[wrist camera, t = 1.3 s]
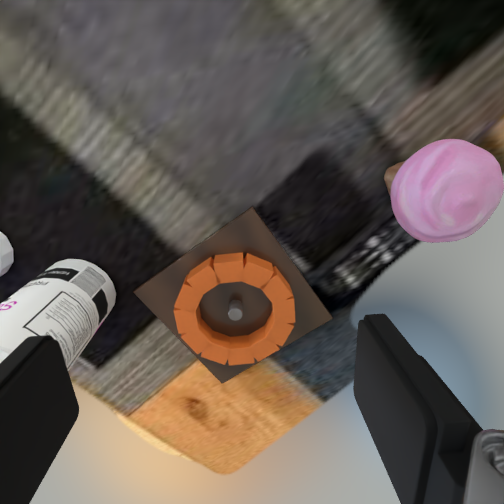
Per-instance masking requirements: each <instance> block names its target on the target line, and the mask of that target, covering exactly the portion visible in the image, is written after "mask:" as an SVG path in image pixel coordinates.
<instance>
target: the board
mask: <svg viewBox="0 0 504 504" xmlns="http://www.w3.org/2000/svg"><path fill="white" fill-rule="evenodd" d="M242 252H243V258H245V256H246V254H247V253H248V254H251V255H253V256H255V257H258V258H260V259H263V260H265V261H268V262H270V263H272V266H273V267H274V266H276V268H277V269H278V270H279V272H280V273H281V274H282V276H283V277H284V278H285V280H286V281H287V282H288V284H289V285H290V288H291V290H292V293H293V297H294V304H295V323H294V328H293V329H292V331H291V333H290V334H289V336H288V338H287V339H286V341H285V343H284V345H283V346H280V345H279V348H280V349H282V348H283V347H285V346H287V345H289V344H290V343H292V342H294V341H295V340H297V339H299V338H300V337H302V336H304V335H306V334H307V333H309V332H311V331H312V330H314V329H316V328H317V327H319V326H321V325H322V324H324V323H326V322H328V321H329V320H331V319H333V317H332V315H331V314H330V312H329V311H328V310H327V308H326V307H325V305H324V304H323V303H322V301H321V300H320V299H319V297H318V296H317V294H316V293H315V292H314V290H313V289H312V288H311V286H310V285H309V283H308V282H307V281H306V279H305V278H304V276H303V275H302V274H301V272H300V271H299V270H298V268H297V267H296V265H295V264H294V263H293V261H292V260H291V259H290V257H289V256H288V254H287V253H286V252H285V250H284V249H283V248H282V246H281V245H280V243H279V242H278V241H277V239H276V238H275V236H274V235H273V234H272V232H271V231H270V230H269V228H268V227H267V225H266V224H265V223H264V221H263V220H262V219H261V217H260V216H259V214H258V213H257V212H256V210H255V209H254V208H253V206H252V207H251V208H249V209H248V210H246V211H245V212H243V213H242V214H241V215H239V216H238V217H236V218H235V219H234V220H232V221H231V222H229V223H228V224H226V225H225V226H224V227H222V228H221V229H219V230H218V231H216V232H215V233H214V234H212V235H211V236H209V237H208V238H207V239H205V240H204V241H202V242H201V243H199V244H198V245H197V246H195V247H194V248H192V249H191V250H190V251H188V252H187V253H185V254H184V255H182V256H181V257H180V258H178V259H177V260H175V261H174V262H173V263H171V264H170V265H168V266H167V267H165V268H164V269H163V270H161V271H160V272H158V273H157V274H155V275H154V276H153V277H151V278H150V279H148V280H147V281H146V282H144V283H143V284H141V285H140V286H138V287H137V288H136V289H135V290H134V291H133V292H134V293H135V295H136V296H137V297H138V298H139V299H140V300H141V301H142V302H143V303H144V304H145V305H146V306H147V307H148V308H149V309H150V310H151V311H152V312H153V313H154V314H155V315H156V316H157V317H158V318H159V319H160V320H161V321H162V322H163V323H164V324H165V325H166V326H167V327H168V328H169V329H170V330H171V331H172V333H173V334H174V335H175V336H176V337H177V338H178V339H179V340H180V341H181V342H182V343H183V344H184V345H185V346H186V347H187V348H188V349H189V350H190V351H191V352H192V353H193V354H194V355H195V356H196V357H197V358H198V359H199V360H200V361H201V362H202V363H203V364H204V365H205V366H206V367H207V368H208V370H209V371H210V372H211V373H212V374H213V375H214V376H215V377H216V378H217V379H218V380H219V381H220V382H221V383H224V382H226V381H228V380H229V379H231V378H233V377H234V376H236V375H238V374H239V373H241V372H243V371H244V370H246V369H248V368H250V367H251V366H253V365H255V364H256V363H258V361H257V360H256V359H255V358H254V363H250V364H240V365H229V364H228V360H227V362H226V364H225V365H223V364H221V363H218V362H215V361H212V360H209V359H206V358H203V357H201V353H202V352H201V353H199V354H196V353H195V352H194V351H193V350H192V349H191V347H190V346H189V345H188V344H187V343H186V342H185V341H184V340H183V339H182V338H181V334H178V329H177V324H176V320H175V315H174V308H175V307H174V305H175V302H176V300H177V297H178V295H179V292H180V290H181V287H182V285H183V283H184V280H185V278H186V276H187V275H189V272H190V271H191V270H192V269H194V268H195V267H197V266H198V265H200V264H201V263H203V262H204V261H205V260H207V259H208V258H210V257H212V258H213V259H215V255H222V254H232V253H242ZM199 308H200V314H201V318H202V319H203V320H204V321H205V323H206V324H207V325H208V326H209V327H210V328H211V329H212V330H213V331H215V332H218V333H221V334H224V335H227V336H229V337H233V336H244V335H250V334H251V333H253V332H255V331H256V330H258V329H260V328H261V327H263V326H264V325H265V324H266V322H267V320H268V318H269V316H270V314H271V313H272V302H271V301H270V300H269V298H268V297H267V296H266V295H265V293H264V292H263V291H262V290H261V289H260V288H257V287H255V286H252V285H249V284H247V283H244V282H242V281H240V282H230V283H220V284H218V285H217V286H215V287H214V288H212V289H211V290H209V291H208V292H206V293H205V294H203V296H202V299H201V301H200V303H199ZM280 349H279V350H280ZM276 352H277V351H276ZM274 353H275V352H274ZM272 354H273V353H272ZM272 354H271V355H272ZM269 356H270V355H269ZM267 357H268V356H267ZM267 357H266V358H267ZM264 359H265V358H264ZM262 360H263V359H262ZM259 362H260V361H259Z"/></svg>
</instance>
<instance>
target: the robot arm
mask: <svg viewBox="0 0 504 504" xmlns="http://www.w3.org/2000/svg"><path fill="white" fill-rule="evenodd" d="M354 396H355V399H356V401H357V404H358V406H359V409H360V411H361V413H362V415H363V418H364V420H365V422H366V424H367V427H368V429H369V431H370V433H371V436H372V438H373V441H374V443H375V445H376V447H377V450H378V452H379V454H380V456H381V459H382V461H383V463H384V466H385V468H386V470H387V472H388V475H389V477H390V480H391V482H392V484H393V486H394V489H395V491H396V493H397V496H398V498H399V500H400V503H401V504H504V430H495V429H490V430H483V429H482V428H481V427H480V426H479V424H478V423H477V422H476V421H475V420H474V418H473V417H472V416H471V415H470V413H469V412H468V411H467V410H466V409H465V407H464V406H463V405H462V404H461V402H460V401H459V400H458V399H457V398H456V396H455V395H454V394H453V393H452V391H451V390H450V389H449V388H448V387H447V385H446V384H445V383H444V382H443V380H442V379H441V378H440V377H439V376H438V374H437V373H436V372H435V371H434V369H433V368H432V367H431V366H430V365H429V364H428V362H427V361H426V360H425V359H424V358H423V357H422V356H420V355H418V354H417V353H416V352H415V351H414V349H413V348H412V347H411V345H410V344H409V343H408V342H407V340H406V339H405V338H404V337H403V335H402V334H401V333H400V332H399V331H398V329H397V328H396V327H395V326H394V324H393V323H392V322H391V321H390V319H389V318H388V317H387V316H386V315H385V314H372V315H365V317H364V320H360V321H359V323H358V335H357V348H356V361H355V374H354ZM78 414H79V405H78V402H77V399H76V396H75V392H74V390H73V386H72V383H71V379H70V376H69V373H68V370H67V367H66V363H65V360H64V357H63V354H62V350H61V347H60V344H59V342H58V341H57V340H54V339H53V337H52V336H50V335H44V336H30V337H28V338H26V339H25V340H24V341H23V342H22V343H21V344H20V345H19V346H18V347H17V348H16V349H15V350H14V351H13V352H12V353H10V354H9V355H8V356H7V357H6V358H5V359H4V360H3V361H2V362H1V363H0V504H29V503H30V501H31V499H32V498H33V496H34V494H35V492H36V491H37V489H38V487H39V485H40V483H41V482H42V480H43V478H44V476H45V475H46V473H47V471H48V469H49V467H50V466H51V464H52V462H53V460H54V459H55V457H56V455H57V453H58V451H59V450H60V448H61V446H62V444H63V443H64V441H65V439H66V437H67V435H68V434H69V432H70V430H71V428H72V427H73V425H74V423H75V421H76V420H77V417H78Z"/></svg>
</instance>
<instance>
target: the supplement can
mask: <svg viewBox="0 0 504 504" xmlns="http://www.w3.org/2000/svg"><path fill="white" fill-rule="evenodd" d="M115 298H116V292H115V288H114V285H113V282H112V281H111V279H110V278H109V277H108V275H107V274H106V272H104V271H103V270H102V269H100V268H99V267H98V266H96V265H95V264H92V263H90V262H87V261H84V260H80V259H66V260H63V261H59V262H56V263H55V264H53V265H52V266H51V267H49V268H48V269H47V270H45V271H44V272H43V273H41V274H40V275H39V276H37V277H36V278H35V279H33V280H32V281H31V282H29V283H28V284H26V285H25V286H24V287H22V288H21V289H20V290H18V291H17V292H16V293H14V294H13V295H12V296H10V297H9V298H8V299H6V300H5V301H4V302H2V303H1V304H0V363H1V362H2V361H3V360H4V359H5V358H6V357H7V356H8V355H9V354H10V353H12V352H13V351H14V350H15V349H16V348H17V347H18V346H19V345H20V344H21V343H22V342H23V341H24V340H25V339H26V338H28V337H30V336H44V335H50V336H52V337H53V339H54V340H57V341H58V342H59V344H60V347H61V350H62V354H63V357H64V360H65V363H66V367H67V370H68V371H69V370H70V368H71V367H72V365H73V364H74V362H75V361H76V360H77V358H78V357H79V355H80V354H81V353H82V351H83V350H84V348H85V347H86V345H87V344H88V343H89V341H90V340H91V338H92V337H93V336H94V334H95V333H96V331H97V330H98V328H99V327H100V326H101V324H102V323H103V321H104V320H105V318H106V317H107V316H108V314H109V313H110V311H111V310H112V308H113V306H114V305H115Z"/></svg>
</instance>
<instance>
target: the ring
mask: <svg viewBox="0 0 504 504" xmlns="http://www.w3.org/2000/svg"><path fill="white" fill-rule="evenodd" d="M240 281H242V282H244V283H247V284H249V285H252V286H255V287H257V288H260V289H261V290H262V291H263V292H264V293H265V295H266V296H267V297H268V298H269V300H270V301H271V302H272V313H271V314H270V316H269V318H268V320H267V322H266V324H265V325H264V326H263V327H261V328H260V329H258V330H256V331H255V332H253V333H251V334H250V335H244V336H233V337H229V336H227V335H224V334H221V333H218V332H215V331H213V330H212V329H211V328H210V327H209V326H208V325H207V324H206V323H205V321H204V320H203V319H202V318H201V314H200V308H199V303H200V301H201V299H202V296H203V294H205V293H206V292H208V291H209V290H211V289H212V288H214V287H215V286H217V285H218V284H220V283H230V282H240ZM174 307H175V308H174V315H175V320H176V324H177V329H178V334H181V338H182V339H183V340H184V341H185V342H186V343H187V344H188V345H189V346H190V347H191V349H192V350H193V351H194V352H195V353H196V354H199V353H201V352H202V353H201V357H203V358H206V359H209V360H212V361H215V362H218V363H221V364H223V365H225V364H226V362H227V360H228V364H229V365H240V364H250V363H254V358H255V359H256V360H257V361H258V362H259V361H261V360H262V359H264V358H266V357H267V356H269V355H271V354H272V353H274V352H276V351H278V350H279V349H280V348H279V345H280V346H283V345H284V343H285V341H286V339H287V338H288V336H289V334H290V333H291V331H292V329H293V328H294V323H295V304H294V297H293V293H292V290H291V288H290V285H289V284H288V282H287V281H286V280H285V278H284V277H283V276H282V274H281V273H280V272H279V270H278V269H277V268H276V266H274V267H273V266H272V263H270V262H268V261H265V260H263V259H260V258H258V257H255V256H253V255H251V254H248V253H247V254H246V256H245V258H243V252H242V253H232V254H222V255H215V259H213V258H212V257H210V258H208V259H207V260H205V261H204V262H203V263H201V264H200V265H198V266H197V267H195V268H194V269H192V270H191V271H190V272H189V275H187V276H186V278H185V280H184V283H183V285H182V287H181V290H180V292H179V295H178V297H177V300H176V302H175V305H174Z"/></svg>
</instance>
